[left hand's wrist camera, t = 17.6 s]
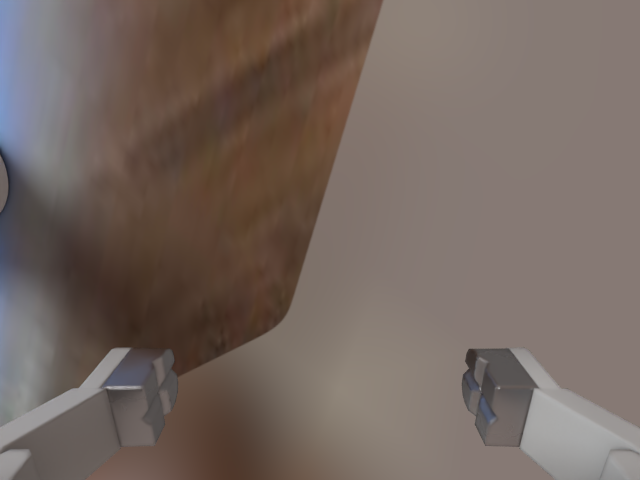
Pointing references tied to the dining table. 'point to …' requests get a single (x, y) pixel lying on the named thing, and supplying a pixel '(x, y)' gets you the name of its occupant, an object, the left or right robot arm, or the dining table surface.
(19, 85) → the dining table surface
